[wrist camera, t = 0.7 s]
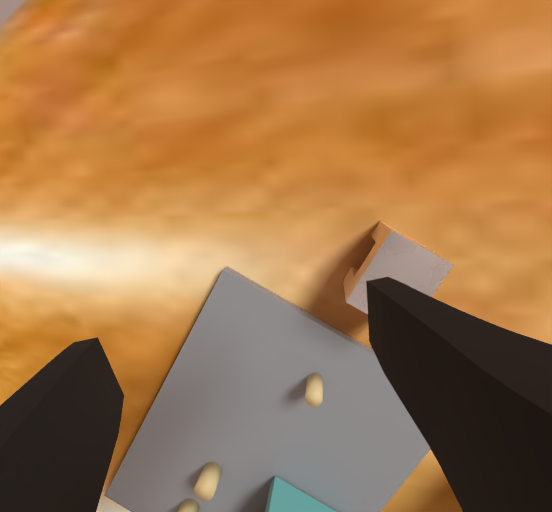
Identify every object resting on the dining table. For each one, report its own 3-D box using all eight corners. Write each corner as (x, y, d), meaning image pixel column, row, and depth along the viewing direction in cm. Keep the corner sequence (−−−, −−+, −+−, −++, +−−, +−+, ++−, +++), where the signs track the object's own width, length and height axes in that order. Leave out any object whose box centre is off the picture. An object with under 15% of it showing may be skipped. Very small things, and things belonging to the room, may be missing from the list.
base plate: (459, 398, 28) (477, 429, 24) (301, 598, 34) (298, 646, 30) (226, 266, 28) (212, 278, 25) (111, 486, 34) (86, 520, 31)
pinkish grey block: (430, 248, 26) (453, 265, 21) (390, 307, 27) (404, 335, 22) (379, 220, 26) (391, 230, 21) (342, 280, 27) (345, 302, 22)
